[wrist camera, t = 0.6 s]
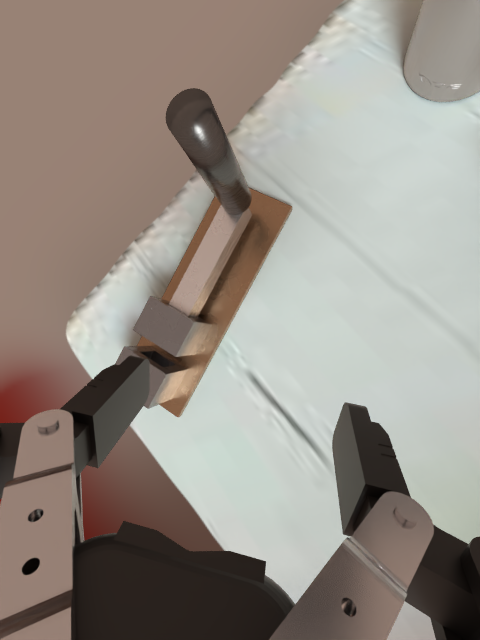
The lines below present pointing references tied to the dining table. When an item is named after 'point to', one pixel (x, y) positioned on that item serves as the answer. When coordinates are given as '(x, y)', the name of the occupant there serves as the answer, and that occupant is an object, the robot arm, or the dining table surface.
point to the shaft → (226, 184)
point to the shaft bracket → (216, 315)
